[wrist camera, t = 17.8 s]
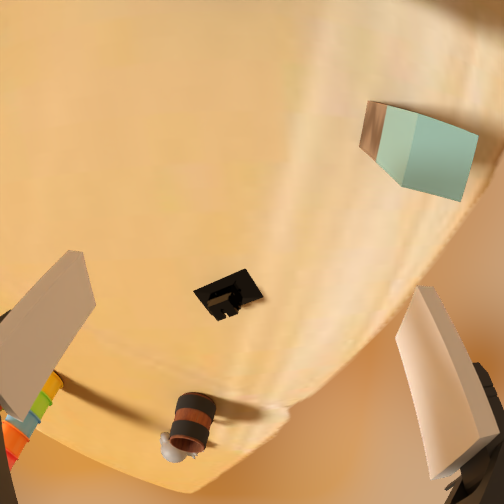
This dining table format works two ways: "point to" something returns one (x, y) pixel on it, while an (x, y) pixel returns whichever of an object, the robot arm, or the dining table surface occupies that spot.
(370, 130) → the walnut block
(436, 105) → the dining table surface
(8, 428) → the stacking cups
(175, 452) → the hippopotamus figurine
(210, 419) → the mug
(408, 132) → the teal block
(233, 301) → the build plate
